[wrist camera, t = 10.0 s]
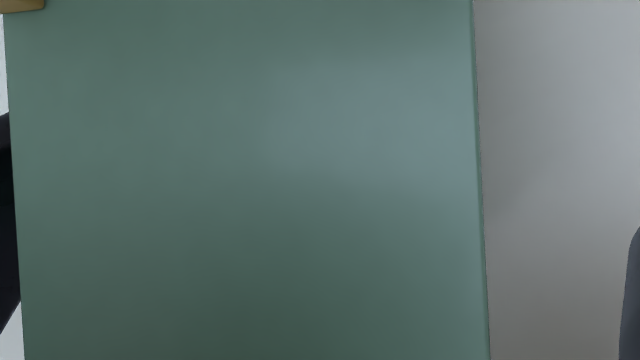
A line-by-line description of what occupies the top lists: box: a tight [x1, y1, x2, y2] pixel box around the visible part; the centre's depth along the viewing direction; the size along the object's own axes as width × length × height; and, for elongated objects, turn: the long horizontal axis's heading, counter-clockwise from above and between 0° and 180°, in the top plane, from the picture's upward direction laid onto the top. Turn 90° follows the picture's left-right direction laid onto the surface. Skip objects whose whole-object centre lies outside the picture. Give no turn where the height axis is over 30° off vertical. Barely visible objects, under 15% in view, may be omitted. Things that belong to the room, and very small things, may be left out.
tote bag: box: [0, 0, 491, 360], centre depth 9 cm, size 9×5×15 cm, turn 3°
